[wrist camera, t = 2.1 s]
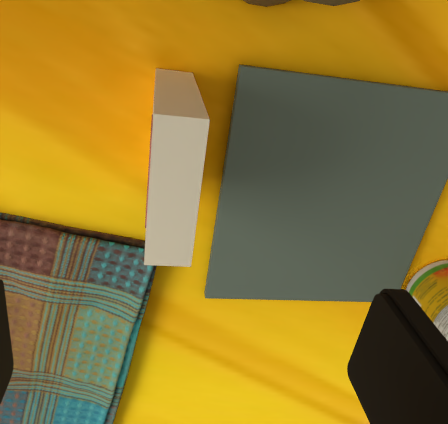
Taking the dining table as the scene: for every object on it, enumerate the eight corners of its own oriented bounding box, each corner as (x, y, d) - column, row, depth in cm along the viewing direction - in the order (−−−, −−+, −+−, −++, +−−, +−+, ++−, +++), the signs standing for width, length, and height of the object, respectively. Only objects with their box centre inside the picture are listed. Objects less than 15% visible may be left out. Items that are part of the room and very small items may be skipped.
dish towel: (-112, 435, 34) (-131, 467, 31) (-126, 181, 24) (-155, 201, 22) (103, 447, 38) (100, 476, 36) (167, 239, 28) (167, 260, 26)
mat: (239, 64, 23) (241, 66, 22) (475, 95, 26) (482, 97, 25) (204, 292, 30) (205, 298, 30) (390, 297, 33) (394, 302, 32)
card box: (154, 68, 22) (152, 113, 14) (193, 72, 23) (211, 119, 15) (148, 178, 25) (142, 264, 17) (182, 180, 26) (191, 266, 18)
